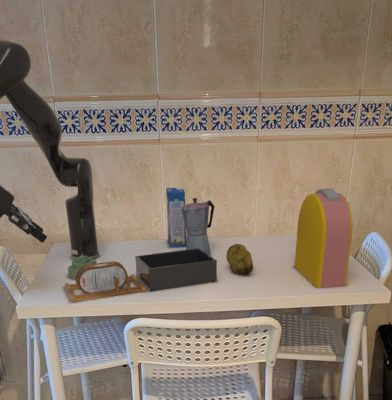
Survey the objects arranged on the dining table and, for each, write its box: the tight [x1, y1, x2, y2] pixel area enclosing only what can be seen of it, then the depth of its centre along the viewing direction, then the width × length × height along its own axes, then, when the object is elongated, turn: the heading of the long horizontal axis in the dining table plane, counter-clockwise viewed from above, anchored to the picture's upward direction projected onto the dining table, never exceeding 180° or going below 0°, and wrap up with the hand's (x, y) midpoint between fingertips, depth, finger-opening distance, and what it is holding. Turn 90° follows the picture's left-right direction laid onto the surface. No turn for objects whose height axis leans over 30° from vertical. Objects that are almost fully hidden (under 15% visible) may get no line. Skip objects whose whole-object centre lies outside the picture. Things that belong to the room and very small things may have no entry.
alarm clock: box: [294, 188, 354, 289], centre depth 151 cm, size 21×9×26 cm, turn 9°
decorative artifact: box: [67, 253, 98, 280], centre depth 159 cm, size 10×7×10 cm
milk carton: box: [165, 187, 187, 248], centre depth 188 cm, size 10×6×20 cm, turn 6°
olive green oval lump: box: [226, 243, 254, 276], centre depth 160 cm, size 8×13×8 cm, turn 178°
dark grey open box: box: [134, 248, 218, 292], centre depth 154 cm, size 14×21×7 cm
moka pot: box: [181, 197, 215, 256], centre depth 175 cm, size 10×15×20 cm, turn 137°
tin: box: [74, 260, 128, 294], centre depth 145 cm, size 15×3×8 cm, turn 116°
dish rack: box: [63, 273, 147, 303], centre depth 147 cm, size 13×22×5 cm, turn 112°
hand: (43, 236), depth 136 cm, fingers open, 8 cm apart
